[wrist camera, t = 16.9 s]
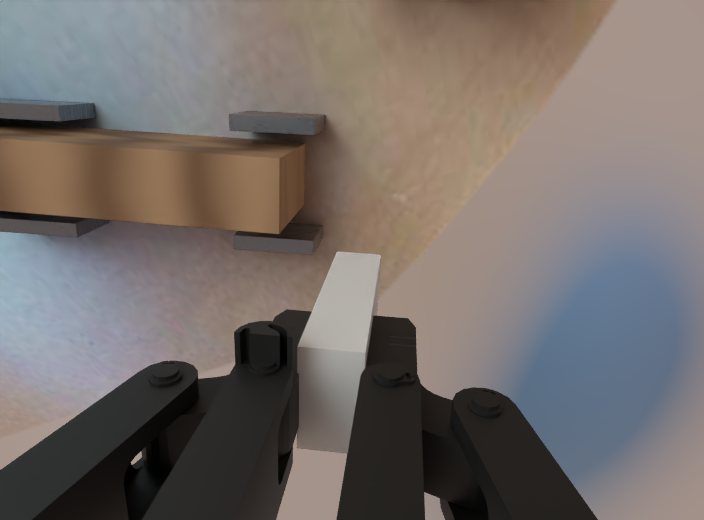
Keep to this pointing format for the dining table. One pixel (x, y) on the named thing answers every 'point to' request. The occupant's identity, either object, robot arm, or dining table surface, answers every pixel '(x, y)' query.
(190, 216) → the walnut slat
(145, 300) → the dining table surface
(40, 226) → the slat support bracket
